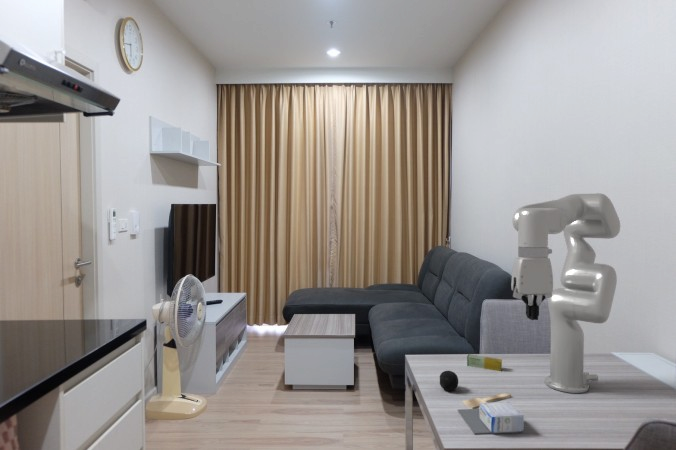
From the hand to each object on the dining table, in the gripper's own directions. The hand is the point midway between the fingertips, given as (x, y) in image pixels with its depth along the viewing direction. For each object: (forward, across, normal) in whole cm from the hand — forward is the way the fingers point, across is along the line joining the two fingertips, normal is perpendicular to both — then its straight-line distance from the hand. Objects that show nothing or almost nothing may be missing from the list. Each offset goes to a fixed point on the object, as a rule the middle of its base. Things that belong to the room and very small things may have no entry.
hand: (532, 318), depth 121 cm
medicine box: (+24, +7, +6) cm, 26 cm away
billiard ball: (+27, +18, -18) cm, 37 cm away
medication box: (+28, -1, -36) cm, 45 cm away
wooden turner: (+27, +9, -9) cm, 30 cm away
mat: (+27, +14, +3) cm, 31 cm away
